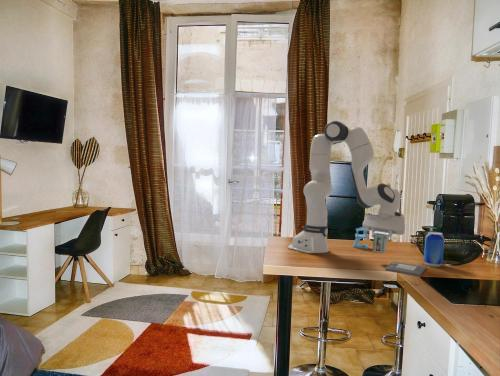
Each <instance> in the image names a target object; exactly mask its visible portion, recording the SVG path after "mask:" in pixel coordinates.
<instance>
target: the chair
mask: <svg viewBox="0 0 500 376" xmlns="http://www.w3.org/2000/svg"><path fill="white" fill-rule="evenodd" d="M355 231H356V233H355V234H354V235H355V236H354V237H355V239H354V242H353V244H352V246H353V248H357V249H363V250H369V246H368V244H359V243H358V242H359V241H360V240H361V239H368V235H367V233H368V231H369V230H365V229H364V228H363V226H360V227H358V228H355ZM361 231H362V232H364V233H363V234H359V232H361Z"/></svg>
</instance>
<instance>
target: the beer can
mask: <svg viewBox="0 0 500 376" xmlns="http://www.w3.org/2000/svg"><path fill="white" fill-rule="evenodd" d="M444 246H445V237H444V235H443V232H439V231H438V232H437V231H428V232H427V234H426V235H425V239H424V250H423V251H424V254H423V262H424V265H425V266H428V267H435V268H437V267H441V266H442V264H443V262H444V261H443V260H444Z"/></svg>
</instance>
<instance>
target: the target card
mask: <svg viewBox="0 0 500 376" xmlns="http://www.w3.org/2000/svg"><path fill="white" fill-rule="evenodd" d="M388 270H389V271H388ZM426 270H427V265H419V264H413V263H406V262H401V261H396V260H393V261H392V262H391V263H389V264H388V265H387V266H385V271H388V272H393V273H394V272H395V273H401V274H406V275H412V276H417V277H421V276H422V274H423V273H424V272H425V271H426Z"/></svg>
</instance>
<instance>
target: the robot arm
mask: <svg viewBox="0 0 500 376" xmlns="http://www.w3.org/2000/svg"><path fill="white" fill-rule="evenodd" d="M323 132H324V133H318V134H316V135H314V136H313V137H312V139H311V144H310V151H309V168H308V169H309V171H310V176H311V181H309V182H307V183H306V184H305V185H304V187H303V195H304V196H305V204H306V224H304V225H302V227H301V228H302V229H303V230H301V232H299V233H297V234H296V235H295V236H294V237H292V238H293V239H292V242H291V244H289V245H288V246H287V249H290V250H292V251H297V252H301V253H307V254H325V253H329V247H328V238H327V237H328V231H329V230H328V228H329V227H328V209H327V203H326V199H328V198H330V196H331V194H332V193H333V186H332V177H331V154H332V146H333V145H336V144H340V143H345V144H346V145H347V147H348V150H349V151H350V152H349V153H350V157H351V163H350V171H351V175H352V179H353V183H354V187H355V191H356V200H357V203H358V204H359V206H361V207H362V208H364V209H370V208H373V207H374V206H378V205H379V209H378V212H377V214H373V213H368V214H366V215H365V217H364V220H363V221H362V224H361V225H362V227H363V228H364V229H365V230H368V231H371V238H374V234H376V233H379V232H381V233H384V234H386V233H387V234H386V236H385V239H386V240H387V241H388V240H389V239H390V238H391V237H393V235H398V236H399V235H400V236H402V235H404V234H405V233H406V232H405V231H406V224H405V222H406V221H405V215H404V214H403V213H401V212H399V211H398V210H399V208H400V204H401V198H402V197H401V194H400V191H398V189H395V188H391V186H389V185H388V184H385V183H382V182H381V183H379V184H376V185H373V186H370V187H367V185H366V181H365V176H364V170H365V168H366V167H367V165H369V163H371V162H372V159H373V157H374V153H375V152H374V149H373V146H372V145H373V144H372V143H371V141H370V138H369V137H368V134H367V133H366V132H365V130H364V129H363V128H362V126H361V127H360V126H353V127H351V128H349V127H348V126H347V125H346V124H345V123H344V122H341V121H338V120H332V121H329V122H327V124H326V125H325V127H324V130H323Z"/></svg>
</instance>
